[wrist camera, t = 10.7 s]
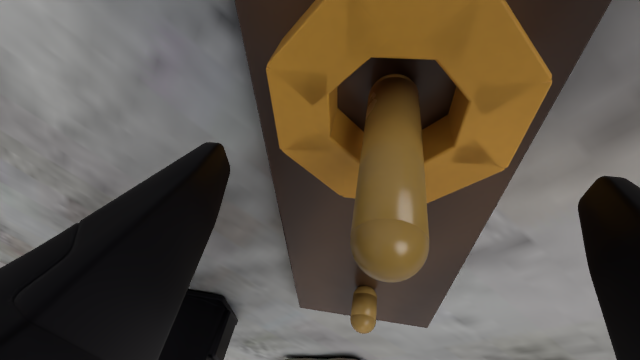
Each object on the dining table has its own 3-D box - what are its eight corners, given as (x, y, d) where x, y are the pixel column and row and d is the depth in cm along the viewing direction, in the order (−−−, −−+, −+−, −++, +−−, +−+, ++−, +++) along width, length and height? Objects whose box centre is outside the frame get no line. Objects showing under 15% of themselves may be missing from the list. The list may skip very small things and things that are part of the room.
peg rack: (302, 293, 27) (277, 408, 21) (237, -64, 9) (11, 67, 4) (426, 312, 25) (433, 441, 20) (621, -70, 8) (1113, 124, 2)
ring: (296, 161, 14) (286, 192, 13) (270, -42, 9) (248, -23, 7) (477, 177, 13) (484, 212, 12) (575, -45, 7) (609, -23, 6)
